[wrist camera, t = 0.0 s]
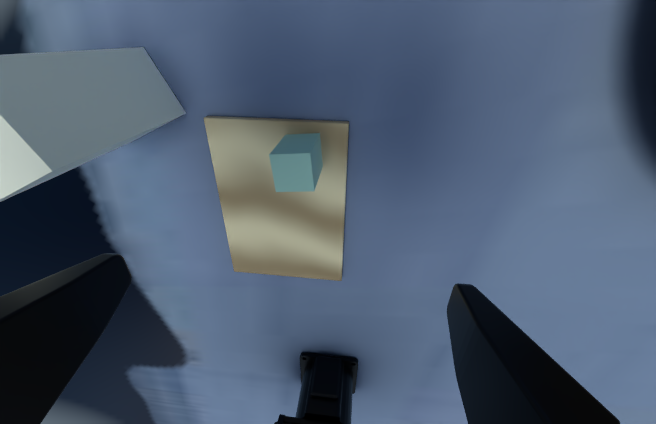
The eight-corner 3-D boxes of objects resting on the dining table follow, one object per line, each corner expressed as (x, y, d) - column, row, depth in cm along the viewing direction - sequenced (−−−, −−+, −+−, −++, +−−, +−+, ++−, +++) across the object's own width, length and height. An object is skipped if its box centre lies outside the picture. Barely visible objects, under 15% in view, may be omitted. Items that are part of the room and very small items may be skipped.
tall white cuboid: (186, 113, 21) (52, 171, 12) (131, 142, 23) (-22, 211, 14) (143, 47, 19) (-54, 57, 10) (87, 83, 21) (-125, 120, 12)
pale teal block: (322, 166, 21) (314, 191, 18) (290, 167, 22) (275, 191, 18) (320, 133, 20) (310, 153, 17) (285, 134, 20) (269, 154, 17)
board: (341, 276, 27) (341, 280, 27) (236, 267, 28) (234, 271, 28) (349, 121, 20) (348, 123, 20) (207, 115, 21) (203, 117, 20)
